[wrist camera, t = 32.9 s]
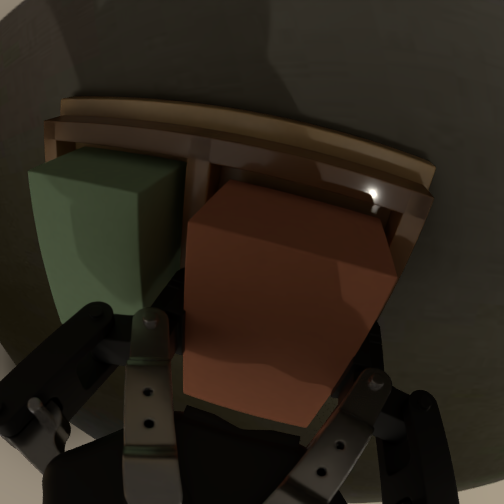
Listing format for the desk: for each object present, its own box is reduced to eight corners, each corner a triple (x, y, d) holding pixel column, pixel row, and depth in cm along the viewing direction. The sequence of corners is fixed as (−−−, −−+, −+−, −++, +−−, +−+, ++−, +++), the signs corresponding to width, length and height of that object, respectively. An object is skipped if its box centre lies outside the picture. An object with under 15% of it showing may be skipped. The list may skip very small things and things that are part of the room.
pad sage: (84, 145, 13) (27, 170, 10) (187, 161, 13) (138, 193, 9) (97, 284, 18) (61, 323, 15) (180, 314, 18) (149, 364, 14)
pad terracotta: (229, 178, 12) (186, 221, 8) (380, 218, 11) (398, 277, 8) (210, 336, 17) (182, 393, 13) (315, 366, 16) (306, 428, 13)
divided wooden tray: (72, 96, 13) (40, 103, 11) (429, 161, 11) (449, 177, 9) (89, 294, 21) (70, 315, 19) (333, 371, 19) (330, 403, 17)
